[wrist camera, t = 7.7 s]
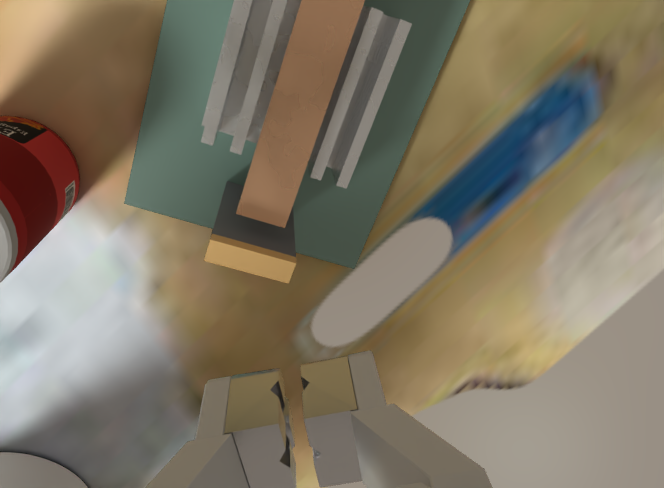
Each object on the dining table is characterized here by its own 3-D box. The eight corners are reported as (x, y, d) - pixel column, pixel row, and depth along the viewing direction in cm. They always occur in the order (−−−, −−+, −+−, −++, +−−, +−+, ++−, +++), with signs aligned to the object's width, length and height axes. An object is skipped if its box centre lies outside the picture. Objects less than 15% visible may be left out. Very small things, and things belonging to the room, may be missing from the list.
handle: (284, 218, 32) (284, 228, 31) (237, 204, 31) (235, 213, 30) (386, -76, 26) (393, -80, 25) (331, -101, 25) (334, -107, 24)
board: (352, 263, 42) (373, 343, 32) (127, 198, 38) (75, 269, 28) (487, -53, 33) (573, -71, 23) (209, -183, 29) (172, -272, 19)
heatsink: (343, 162, 37) (353, 191, 32) (206, 116, 35) (192, 139, 30) (397, 21, 33) (419, 26, 28) (247, -41, 31) (240, -48, 26)
